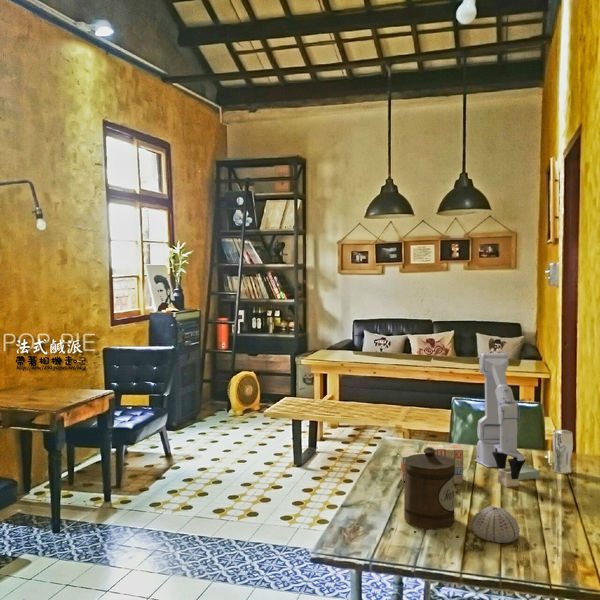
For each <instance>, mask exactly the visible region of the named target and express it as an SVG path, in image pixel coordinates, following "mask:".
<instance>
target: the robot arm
mask: <svg viewBox="0 0 600 600" xmlns="http://www.w3.org/2000/svg"><path fill="white" fill-rule="evenodd" d="M478 359H479V360H478V363H479V365H478V368H479V369H478V370H479V373H481V374H483V376H484V416H482V417H481V418H480V419H478V420H477V427H476V428H477V429H476V431H477V433H476V434H477V439H479V440H478V441H477V443H476V459H474V461H475V462H477V463H478V464H480V465H483V466H485V467H486V468H496V467H497V470H498V469H503V468H506V466H507V465H506V464H507V463H506V462H507V461H508V463H509V465H510V468H511V477H512V479H518V477H519V473H520V470H521V468H522V466H523V464H526V459H525V455H524V454H522V453H521V452H520V451H519V450H518V420H519V419H520V416H521V414H520V413H521V412H520V406H519V403H518V402H517V400H515V397H514V394H513V390H512V388H511V387H510V385H508V383H507V381H508V380H507V376H506V372H507V371H508V370H507V369H508V367H509V355H508V354H507V353H506V352H501V353H500V352H499V353H498V352H488V353H487V352H482V353H480V354H479V357H478ZM508 456H509V457H511V458H508Z"/></svg>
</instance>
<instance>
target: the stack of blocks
mask: <svg viewBox="0 0 600 600" xmlns="http://www.w3.org/2000/svg"><path fill="white" fill-rule="evenodd" d="M427 447H431V448H433V449H435V454H436V455H442V456H446V457H449V458H451V459H452V460H453V461H454V463H455V472H454V484H461V483H464V449H463V448H462V446H461V445H457V444H456V445H455V444H425V449H426V448H427ZM416 454H425V453H424V452H409V451H408V452H404V451H402V452H401V453H400V477H402V478H401V481H402V482H403V481H405V460H406V458H407V457H408V456H411V455H416Z"/></svg>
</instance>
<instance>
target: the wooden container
mask: <svg viewBox="0 0 600 600" xmlns="http://www.w3.org/2000/svg"><path fill="white" fill-rule="evenodd" d="M423 453H425V454H416V455H411V456H408V457H407V458H406V460H405V482H404V490H403V491H404V494H403V495H404V498H403V499H404V502H403V503H404V505H403V506H404V509H403V511H404V512H403V513H404V514H403V515H404V517H403V518H404V520H406V521H405V522H406V523H408V524H409V525H411V526H413V527H415V528H418V529H423V528H424V529H425V530H443V529H448V528H450V527H452V526H453V525H454V523H455V508H456V507H455V504H456V503H455V502H456V501H455V500H456V494H455V483H454V472H455V463H454V461H453V460H452V459H451V458H449V457H446V456H442V455H436V454H435V449H433V448H431V447H427V448H426V447H425V448H424V450H423Z"/></svg>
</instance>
